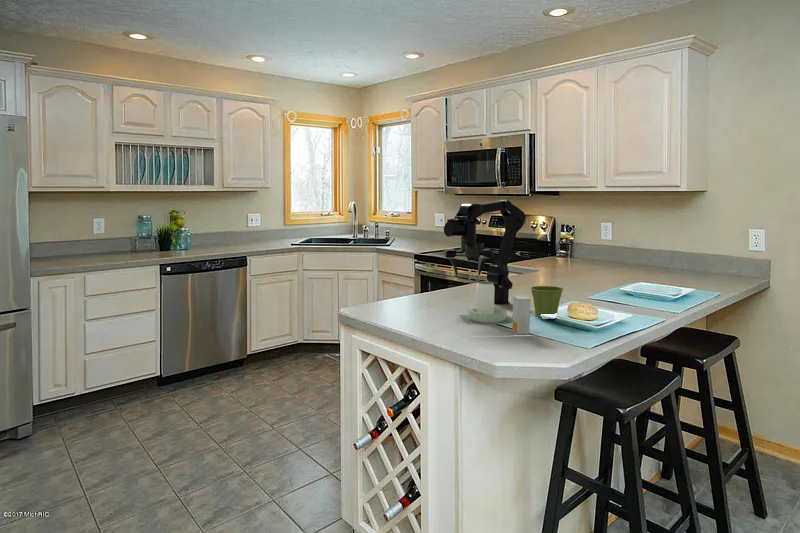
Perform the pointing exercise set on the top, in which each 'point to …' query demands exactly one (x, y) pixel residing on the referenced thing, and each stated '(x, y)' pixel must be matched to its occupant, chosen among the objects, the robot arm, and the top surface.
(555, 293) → the plant pot
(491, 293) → the can
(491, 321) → the bowl
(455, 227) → the robot arm
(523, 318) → the skincare box
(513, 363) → the top surface
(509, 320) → the slate mat
